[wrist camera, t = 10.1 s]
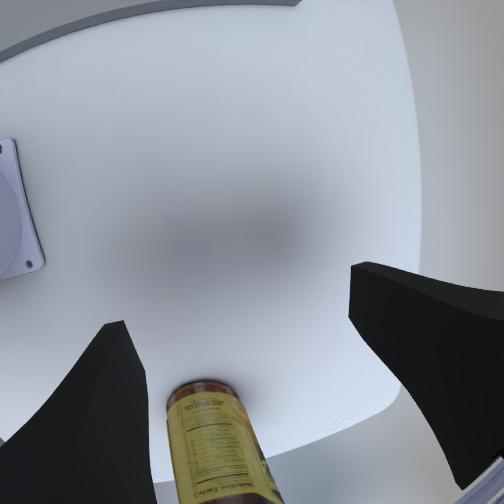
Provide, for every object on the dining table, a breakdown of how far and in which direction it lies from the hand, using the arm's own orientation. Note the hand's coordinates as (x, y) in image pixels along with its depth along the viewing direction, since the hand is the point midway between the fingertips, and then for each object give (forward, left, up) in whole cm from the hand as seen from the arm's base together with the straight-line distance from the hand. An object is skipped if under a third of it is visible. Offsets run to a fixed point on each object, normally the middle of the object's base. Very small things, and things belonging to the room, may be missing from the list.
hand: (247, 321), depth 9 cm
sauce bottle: (-3, -14, -10) cm, 17 cm away
